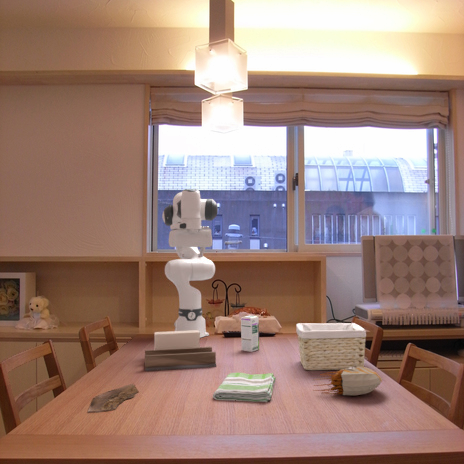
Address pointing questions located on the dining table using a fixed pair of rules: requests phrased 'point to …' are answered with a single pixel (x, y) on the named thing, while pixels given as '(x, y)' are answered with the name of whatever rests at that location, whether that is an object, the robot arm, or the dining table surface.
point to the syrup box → (250, 333)
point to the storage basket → (331, 345)
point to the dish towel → (246, 387)
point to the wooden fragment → (112, 399)
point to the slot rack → (179, 358)
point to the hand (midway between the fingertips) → (191, 257)
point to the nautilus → (352, 381)
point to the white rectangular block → (177, 339)
